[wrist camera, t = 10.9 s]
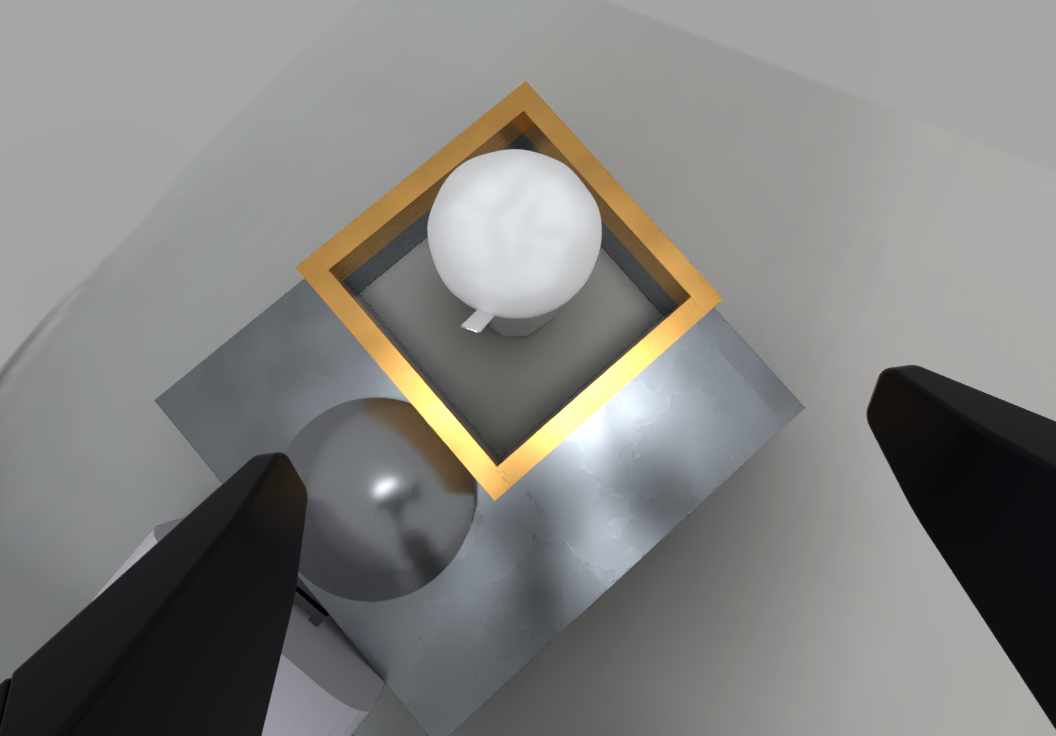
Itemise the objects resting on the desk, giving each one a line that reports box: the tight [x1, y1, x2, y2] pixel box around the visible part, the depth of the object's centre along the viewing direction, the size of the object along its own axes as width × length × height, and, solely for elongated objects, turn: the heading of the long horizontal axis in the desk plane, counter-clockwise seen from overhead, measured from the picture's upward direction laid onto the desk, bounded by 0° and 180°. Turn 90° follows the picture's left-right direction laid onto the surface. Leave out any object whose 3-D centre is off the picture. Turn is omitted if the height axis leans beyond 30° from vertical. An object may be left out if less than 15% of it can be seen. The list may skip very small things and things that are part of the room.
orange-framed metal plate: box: [155, 81, 805, 736], centre depth 20 cm, size 18×16×4 cm
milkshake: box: [427, 149, 602, 337], centre depth 17 cm, size 4×5×10 cm
